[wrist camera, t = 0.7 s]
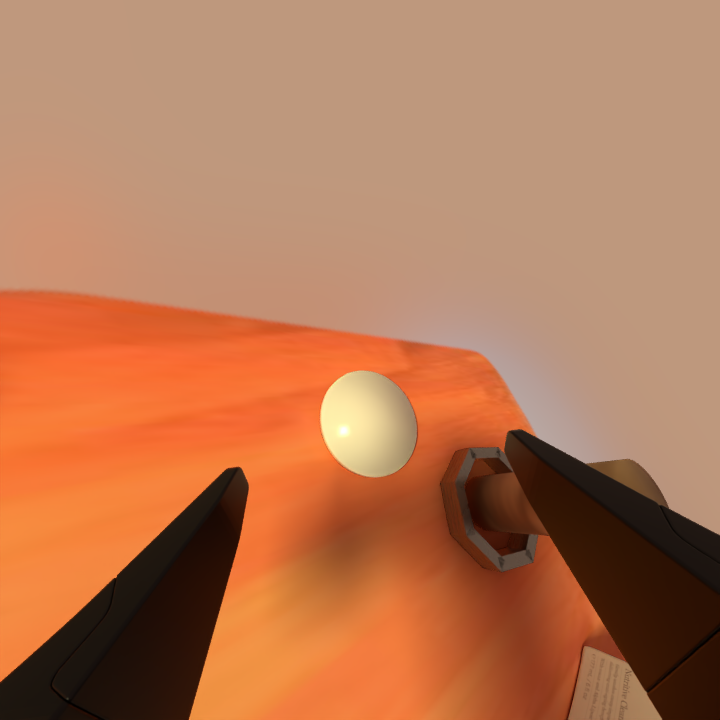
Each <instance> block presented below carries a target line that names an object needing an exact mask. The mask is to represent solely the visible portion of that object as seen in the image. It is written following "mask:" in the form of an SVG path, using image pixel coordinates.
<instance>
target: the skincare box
mask: <svg viewBox="0 0 720 720" xmlns="http://www.w3.org/2000/svg"><path fill="white" fill-rule="evenodd" d="M568 720H662V718H661V717H660V715H659V714H658V712H657V710H656V709H655V707H654V705H653V704H652V702H651V701H650V699H649V697H648V696H647V692H646V691H645V690H644V689H643V687H642V686H641V684H640V682H639V681H638V679H637V677H636V676H635V674H634V673H633V671H632V669H631V668H630V666H629V664H628V663H627V662H626V661H623V660H621V659H619V658H616V657H614V656H611V655H609V654H607V653H604V652H602V651H600V650H597V649H595V648H593V647H590V646H587V647H586V646H584V648H583V652H582V660H581V665H580V670H579V674H578V679H577V683H576V688H575V693H574V698H573V702H572V706H571V710H570V714H569V717H568Z"/></svg>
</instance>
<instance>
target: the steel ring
mask: <svg viewBox="0 0 720 720" xmlns="http://www.w3.org/2000/svg"><path fill="white" fill-rule="evenodd" d="M475 460H484V461H485V462H486V463H487V464H488V465H489V466H490V467H491V468H492V469H493V470H494V471H495V473H496V474H503V473H512V472H513V469H512V467H511V465H510V463H509V461H508V459H507V457H506V455H505V454H504V453H503V452H502V451H501V450H500V449H499V448H498V447H491V448H467V449H462V450H458V451H455V454H454V456H453V458H452V460H451V462H450V464H449V466H448V468H447V470H446V472H445V475H444V477H443V479H442V481H441V483H440V485H441V490H442V495H443V500H444V505H445V510H446V515H447V520H448V525H449V530H450V534H451V535H452V536H453V537H454V538H455V539H456V540H457V541H458V542H459V543H460V545H461V546H462V547H463V548H464V549H465V550H466V551H467V552H468V553H469V554H470V555H471V556H472V557H473V558H474V559H475V560H476V561H477V562H478V563H479V564H480V565H481V566H482V567H483V568H486V569H490V570H494V571H499V572H504V571H507V570H510V569H513V568H517V567H520V566H523V565H527V564H530V563H533V561H534V555H535V550H536V544H537V539H538V535H534V534H522V533H511V534H510V538H509V542H508V546H507V547H506V548H502V549H498V550H494V548H493V547H492V546H491V545H490V544H489V543H488V542H487V541H486V540H485V539H484V538H483V537H482V536H481V535H480V534H479V533H478V532H477V531H476V530H475V529H474V526H473V522H472V518H471V513H470V509H469V505H468V501H467V496H466V492H465V488H464V485H465V483H466V480H467V478H468V475H469V473H470V471H471V468H472V466H473V463H474V461H475Z"/></svg>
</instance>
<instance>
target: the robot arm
mask: <svg viewBox="0 0 720 720" xmlns="http://www.w3.org/2000/svg"><path fill="white" fill-rule="evenodd" d="M504 450H505V455H506V457H507V459H508V461H509V463H510V465H511V467H512V469H513V472H514V474H515V476H516V478H517V480H518V482H519V484H520V486H521V488H522V490H523V492H524V494H525V496H526V498H527V500H528V501H529V503H530V505H531V507H532V508H533V510H534V512H535V513H536V515H537V516H538V518H539V520H540V521H541V523H542V525H543V526H544V528H545V529H546V531H547V533H548V534H549V536H550V538H551V539H552V541H553V542H554V544H555V546H556V547H557V549H558V551H559V552H560V554H561V555H562V557H563V559H564V560H565V562H566V564H567V565H568V567H569V568H570V570H571V572H572V573H573V575H574V577H575V578H576V580H577V581H578V583H579V585H580V586H581V588H582V590H583V591H584V593H585V594H586V596H587V598H588V599H589V601H590V603H591V604H592V606H593V607H594V609H595V611H596V612H597V614H598V616H599V617H600V619H601V620H602V622H603V624H604V625H605V627H606V629H607V630H608V632H609V633H610V635H611V637H612V638H613V640H614V642H615V643H616V645H617V646H618V648H619V650H620V651H621V653H622V655H623V656H624V658H625V659H626V661H627V663H628V664H629V666H630V668H631V669H632V671H633V673H634V674H635V676H636V677H637V679H638V681H639V682H640V684H641V686H642V687H643V689H644V690H645V691H646V692H647V696H648V697H649V699H650V701H651V702H652V704H653V705H654V707H655V709H656V710H657V712H658V714H659V715H660V717H661V718H662V720H720V535H718V534H716V533H714V532H712V531H710V530H709V529H707V528H705V527H703V526H701V525H699V524H697V523H695V522H693V521H691V520H689V519H687V518H686V517H684V516H682V515H680V514H678V513H676V512H674V511H672V510H671V509H669V508H667V507H665V506H663V505H659V504H658V503H657V502H656V501H654V500H652V499H650V498H648V497H646V496H644V495H643V494H641V493H639V492H637V491H635V490H633V489H631V488H630V487H628V486H626V485H624V484H622V483H620V482H618V481H617V480H615V479H613V478H611V477H609V476H607V475H605V474H604V473H602V472H600V471H598V470H596V469H594V468H592V467H591V466H589V465H587V464H585V463H583V462H581V461H579V460H578V459H576V458H574V457H572V456H570V455H568V454H566V453H564V452H563V451H561V450H559V449H557V448H555V447H553V446H551V445H549V444H548V443H546V442H544V441H542V440H540V439H538V438H537V437H535V436H533V435H531V434H529V433H527V432H525V431H524V430H520V429H518V430H511V431H508V433H507V436H506V442H505V448H504ZM248 490H249V485H248V482H247V479H246V477H245V475H244V473H243V470H242V469H241V468H240V467H233V468H228V469H226V470H225V471H224V472H223V473H222V474H221V475H220V476H219V477H218V478H217V479H216V480H215V481H213V482H212V483H211V484H210V485H209V486H208V487H207V488H206V489H205V490H204V491H203V492H202V493H201V494H200V495H199V496H198V497H197V498H196V499H195V500H194V501H193V502H192V503H191V504H190V505H189V506H188V507H187V508H186V509H185V510H184V511H183V512H182V513H181V514H180V515H179V516H177V517H176V518H175V519H174V520H173V521H172V522H171V523H170V524H169V525H168V526H167V527H166V528H165V529H164V530H163V531H162V532H161V533H160V534H159V535H158V536H157V537H156V538H155V539H154V540H153V541H152V542H151V543H150V544H149V545H148V546H147V547H146V548H145V549H144V550H142V551H141V552H140V553H139V554H138V555H137V556H136V557H135V558H134V559H133V560H132V561H131V562H130V563H129V564H128V565H127V566H126V567H125V568H124V569H123V570H122V571H121V572H120V573H119V574H118V575H117V577H116V578H114V579H113V580H111V581H110V582H109V583H108V584H107V585H106V586H105V587H104V588H103V589H102V590H101V591H100V592H99V593H98V594H97V595H96V596H95V597H94V598H93V599H92V600H91V601H90V602H89V603H88V604H86V605H85V606H84V607H83V608H82V609H81V610H80V611H79V612H78V613H77V614H76V615H75V616H74V617H73V618H72V619H71V620H69V621H68V622H67V623H66V624H65V625H64V626H63V627H62V628H61V629H59V630H58V631H57V632H56V633H55V634H54V635H53V636H52V637H51V638H50V639H48V640H47V641H46V642H45V643H44V644H43V645H42V646H41V647H40V648H38V649H37V650H36V651H35V652H34V653H33V654H32V655H31V656H29V657H28V658H27V659H26V660H25V661H24V662H23V663H21V664H20V665H19V666H18V667H17V668H16V669H15V670H14V671H12V672H11V673H10V674H9V675H8V676H7V677H6V678H5V679H3V680H2V681H1V682H0V720H189V717H190V714H191V710H192V706H193V703H194V699H195V696H196V692H197V689H198V685H199V682H200V678H201V675H202V671H203V668H204V664H205V660H206V657H207V653H208V650H209V646H210V643H211V639H212V636H213V632H214V629H215V625H216V621H217V618H218V614H219V611H220V607H221V604H222V600H223V597H224V593H225V590H226V586H227V582H228V579H229V575H230V572H231V568H232V565H233V561H234V558H235V554H236V551H237V547H238V543H239V539H240V535H241V530H242V524H243V518H244V513H245V507H246V502H247V496H248Z"/></svg>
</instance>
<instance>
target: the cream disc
mask: <svg viewBox="0 0 720 720" xmlns="http://www.w3.org/2000/svg"><path fill="white" fill-rule="evenodd" d="M319 420H320V429H321V434H322V437H323V440H324V442H325V444H326V446H327V448H328V450H329V452H330V453H331V455H332V456H333V457H334V458H335V460H336V461H337V462H338V463H339V464H340V465H342V466H343V467H344V468H346V469H347V470H348V471H350V472H352V473H354V474H357V475H360V476H363V477H370V478H376V477H382V476H387V475H390V474H392V473H394V472H396V471H398V470H399V469H400V468H402V467H403V466H404V465H405V464H406V463H407V461H408V460H409V458H410V457H411V455H412V453H413V450H414V448H415V444H416V439H417V424H416V418H415V414H414V411H413V408H412V406H411V404H410V402H409V400H408V398H407V397H406V395H405V394H404V393H403V391H402V390H401V389H400V388H399V387H398V386H397V385H396V384H395V383H394V382H392V381H391V380H390V379H388V378H387V377H385V376H383V375H381V374H378V373H375V372H371V371H354V372H350V373H348V374H345V375H344V376H342V377H340V378H339V379H338V380H336V381H335V382H334V383H333V385H332V386H331V387H330V388H329V389H328V391H327V392H326V394H325V396H324V398H323V401H322V404H321V408H320V419H319Z"/></svg>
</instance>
